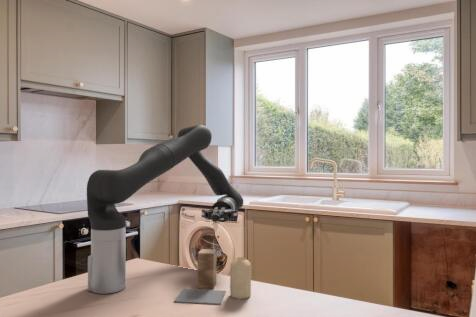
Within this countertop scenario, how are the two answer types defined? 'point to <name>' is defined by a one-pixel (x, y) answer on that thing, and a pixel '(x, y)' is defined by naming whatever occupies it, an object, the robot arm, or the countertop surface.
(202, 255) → the tan rectangular block
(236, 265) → the candle
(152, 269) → the countertop surface
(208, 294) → the mat
